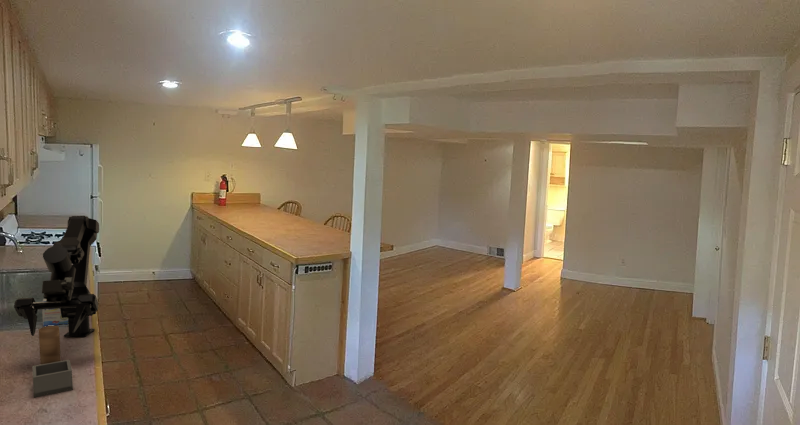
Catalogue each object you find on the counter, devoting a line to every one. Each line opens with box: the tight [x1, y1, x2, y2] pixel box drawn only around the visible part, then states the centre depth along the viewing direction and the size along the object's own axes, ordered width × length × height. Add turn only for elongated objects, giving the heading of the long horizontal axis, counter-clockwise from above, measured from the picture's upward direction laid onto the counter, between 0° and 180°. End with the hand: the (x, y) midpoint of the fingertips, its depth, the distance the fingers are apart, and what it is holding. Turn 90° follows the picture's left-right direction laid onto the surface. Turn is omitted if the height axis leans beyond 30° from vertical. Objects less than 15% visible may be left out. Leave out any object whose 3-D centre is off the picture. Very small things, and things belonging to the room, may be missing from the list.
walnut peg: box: [38, 325, 62, 365], centre depth 136 cm, size 4×4×13 cm
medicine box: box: [41, 298, 68, 327], centre depth 176 cm, size 8×4×9 cm, turn 117°
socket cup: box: [31, 359, 74, 398], centre depth 130 cm, size 8×8×5 cm
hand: (52, 333), depth 139 cm, fingers open, 9 cm apart
